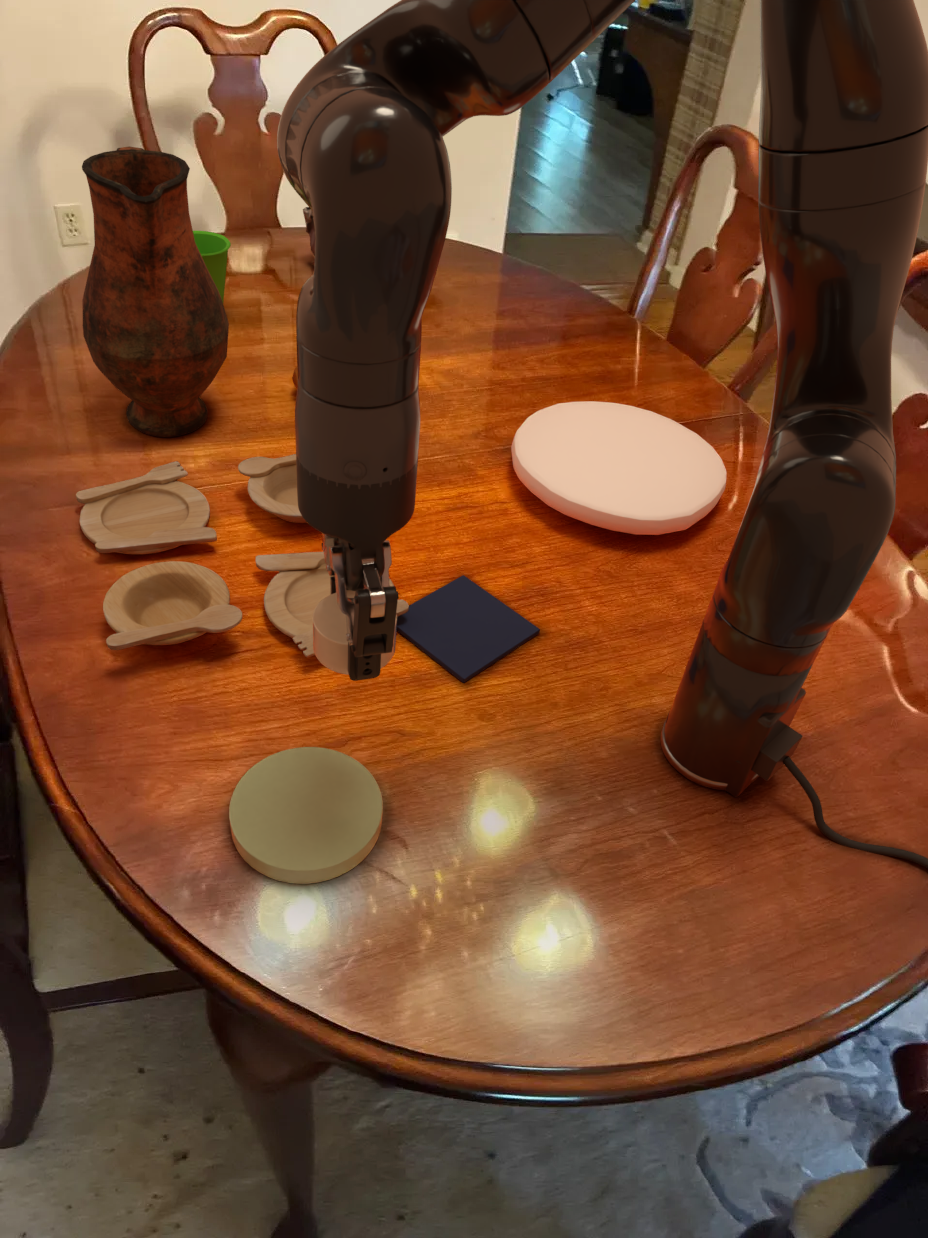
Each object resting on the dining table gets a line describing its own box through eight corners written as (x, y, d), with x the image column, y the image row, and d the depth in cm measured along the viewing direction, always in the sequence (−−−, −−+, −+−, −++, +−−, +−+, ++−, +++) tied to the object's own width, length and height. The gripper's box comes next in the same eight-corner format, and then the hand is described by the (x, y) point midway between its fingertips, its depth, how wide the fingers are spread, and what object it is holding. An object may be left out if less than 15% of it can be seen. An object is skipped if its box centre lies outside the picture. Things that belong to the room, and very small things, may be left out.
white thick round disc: (531, 377, 125) (728, 416, 122) (523, 422, 128) (714, 460, 126) (499, 465, 102) (740, 514, 100) (490, 516, 106) (722, 564, 104)
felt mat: (539, 633, 94) (540, 629, 93) (463, 683, 87) (464, 679, 87) (462, 579, 99) (463, 574, 98) (385, 622, 93) (386, 618, 92)
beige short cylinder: (412, 649, 68) (414, 619, 66) (350, 688, 65) (351, 657, 63) (357, 608, 71) (358, 578, 69) (296, 643, 68) (295, 613, 66)
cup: (162, 320, 137) (152, 245, 129) (192, 298, 143) (185, 225, 136) (217, 333, 135) (211, 258, 128) (245, 310, 142) (241, 238, 135)
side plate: (412, 824, 75) (413, 811, 74) (293, 914, 68) (292, 900, 67) (319, 738, 81) (318, 724, 79) (200, 812, 74) (198, 798, 72)
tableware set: (76, 488, 104) (68, 457, 101) (329, 456, 113) (329, 427, 111) (105, 709, 80) (97, 676, 78) (423, 645, 90) (426, 614, 87)
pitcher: (103, 457, 109) (53, 190, 89) (93, 372, 124) (49, 126, 104) (245, 444, 114) (228, 189, 94) (220, 364, 129) (200, 128, 109)
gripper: (447, 507, 53) (428, 707, 64) (390, 386, 63) (382, 577, 74) (316, 520, 51) (320, 724, 62) (279, 393, 61) (288, 588, 72)
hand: (354, 643), depth 68 cm, fingers closed on beige short cylinder, 6 cm apart
